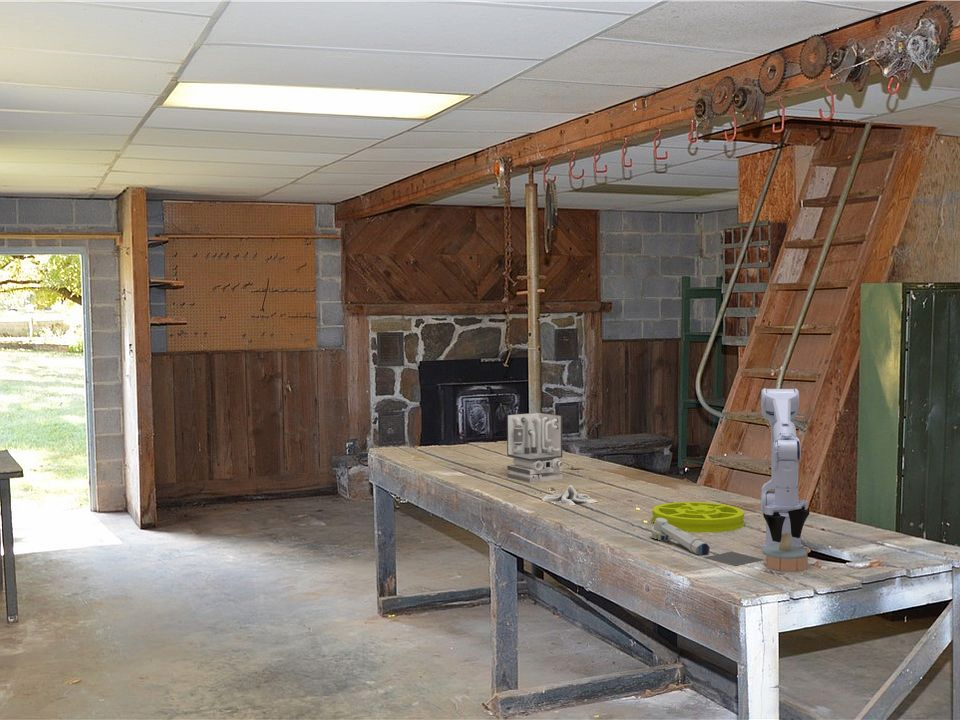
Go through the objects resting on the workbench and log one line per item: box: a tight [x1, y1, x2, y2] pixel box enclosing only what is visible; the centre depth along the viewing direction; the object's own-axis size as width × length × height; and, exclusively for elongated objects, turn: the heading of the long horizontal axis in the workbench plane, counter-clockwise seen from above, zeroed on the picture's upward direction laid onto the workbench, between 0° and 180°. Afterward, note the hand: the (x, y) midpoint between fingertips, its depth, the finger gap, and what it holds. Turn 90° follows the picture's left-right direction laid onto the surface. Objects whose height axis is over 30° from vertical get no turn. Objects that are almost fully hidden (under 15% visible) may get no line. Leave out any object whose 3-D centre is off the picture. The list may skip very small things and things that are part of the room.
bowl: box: [764, 555, 809, 572], centre depth 251 cm, size 10×10×4 cm
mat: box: [703, 551, 764, 567], centre depth 259 cm, size 11×11×1 cm
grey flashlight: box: [650, 518, 711, 556], centre depth 275 cm, size 5×7×25 cm
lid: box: [761, 533, 808, 559], centre depth 251 cm, size 11×11×5 cm
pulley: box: [652, 501, 745, 533], centre depth 306 cm, size 28×28×5 cm
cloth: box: [541, 484, 598, 506], centre depth 341 cm, size 22×19×6 cm
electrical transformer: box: [506, 412, 563, 484], centre depth 389 cm, size 16×19×25 cm
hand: (786, 539), depth 251 cm, fingers open, 7 cm apart
